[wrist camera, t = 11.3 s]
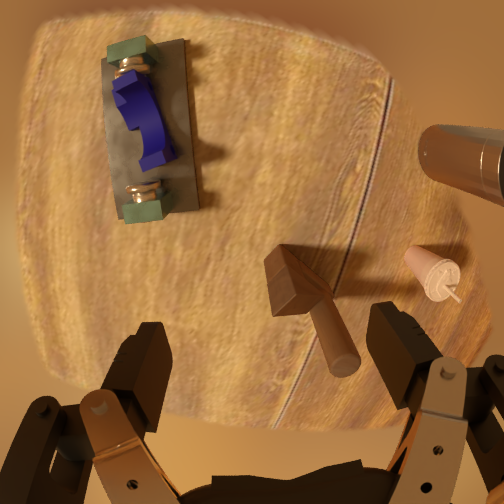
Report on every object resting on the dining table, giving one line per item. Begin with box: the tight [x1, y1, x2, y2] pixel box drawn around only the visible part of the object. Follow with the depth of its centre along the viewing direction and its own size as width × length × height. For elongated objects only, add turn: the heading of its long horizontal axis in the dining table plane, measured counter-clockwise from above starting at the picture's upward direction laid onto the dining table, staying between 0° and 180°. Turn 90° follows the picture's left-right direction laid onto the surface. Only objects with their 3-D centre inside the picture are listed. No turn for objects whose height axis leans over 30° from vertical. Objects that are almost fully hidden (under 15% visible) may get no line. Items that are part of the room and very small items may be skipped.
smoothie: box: [404, 245, 462, 303], centre depth 37 cm, size 6×6×14 cm
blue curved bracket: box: [111, 70, 178, 172], centre depth 31 cm, size 12×4×6 cm, turn 18°
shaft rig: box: [101, 35, 200, 224], centre depth 32 cm, size 12×24×6 cm, turn 4°
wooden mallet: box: [264, 244, 361, 378], centre depth 35 cm, size 4×11×18 cm, turn 49°
